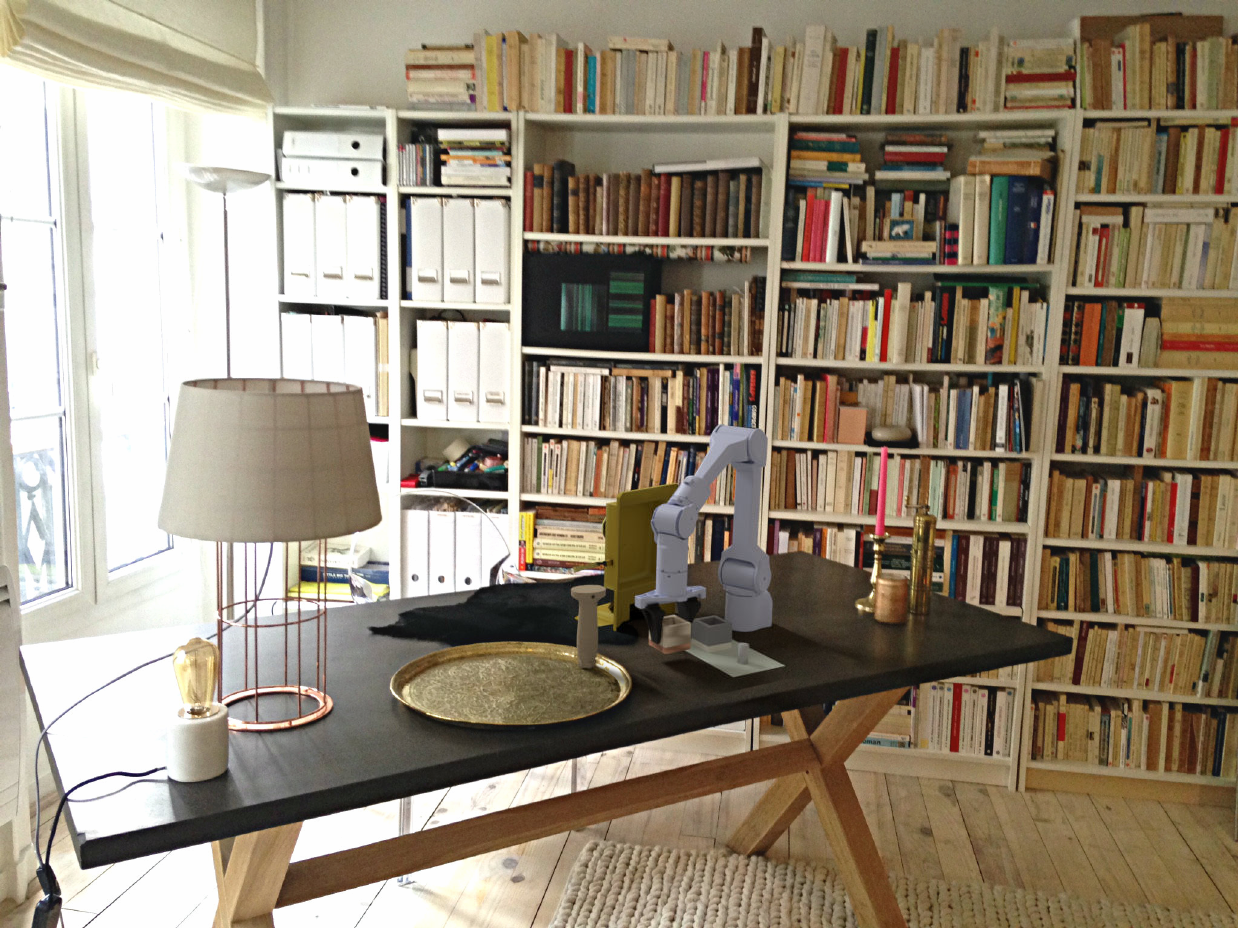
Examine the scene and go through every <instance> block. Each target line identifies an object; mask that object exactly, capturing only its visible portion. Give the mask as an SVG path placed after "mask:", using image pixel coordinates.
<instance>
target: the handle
mask: <svg viewBox="0 0 1238 928" xmlns="http://www.w3.org/2000/svg"><path fill="white" fill-rule="evenodd" d="M606 590H607V588H605V587H604V585H603V586H602V585H599V584H584V585H576V586H573V587H572V588H571V589H570V595H571V597H572V598H573V599H575V600H576V601H578V615H579V617H578V621H577V630H576V631H577V633H576V651H577V652H576V653H577V658H578V659H577V664H578V666H579V667H580V668H581V669H592V668H594V667H596V664H597V655H598V649H599V626H598V621H597V606H598V602H599V601H600V600H601V599H602V598H604V597H606Z"/></svg>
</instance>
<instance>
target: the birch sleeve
mask: <svg viewBox="0 0 1238 928" xmlns="http://www.w3.org/2000/svg"><path fill="white" fill-rule="evenodd" d="M691 636H692V625H691V623H690V622H688V621H686V620H684V619H682V618H680V617H678V615H675V614H669V615H664V618H663V623H662V631H661V641H660V644H656V643H654V642H652V641H651V636H650V631H649V630H648V646H650V647H652V648H654V649H655V650H657V651H659V652H661V653H662V654H665V655H667V654H668V655H669V654H672V653H676V652H678V653H679V652H683V651H685V650H689V649H690V645H691Z"/></svg>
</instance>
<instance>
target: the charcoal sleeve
mask: <svg viewBox="0 0 1238 928" xmlns="http://www.w3.org/2000/svg"><path fill="white" fill-rule="evenodd" d="M732 624H733V623H731V622H729V621H726V620H725V618H722V617H720V616H718V615H716V614H714V615H709V616H704V617H703V616H701V617H697V618H696V617H695V618H694V620H693V623H692V625H691V644H693V645H695V646H697V647H698V648H700V649H702V650H704V651H706V652H708V653H709V652H714V651H719V650H724V649H729V648H731V645H732V639H733V630H732Z"/></svg>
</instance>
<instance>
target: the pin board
mask: <svg viewBox="0 0 1238 928" xmlns="http://www.w3.org/2000/svg"><path fill="white" fill-rule="evenodd" d="M684 651H685V652H687V653H689V654H691V655H692V656H694V657H696V658H698V659H699V660H701V661H704V662H705V663H707V664H709V665H711V666H712V667H714V668H716V669H718V670H720V672H723V673H725V674H727V675H729V676H730V677H732V678H736V677H740V676H745V675H750V674H755V673H758V672H764V671H769V670H772V669H776V668H777V669H778V668H782V667H786V665H785V664H782V663H780V662H778V661H777V660H775V659H772V658H770V657H768V656H766V655H764V654H762V653H760V652H758V651H757V650H754V649H753V648H750V644H749V643H747V642H739V641H736V640H735V639H733V638H732V645H731V648H729V649H724V650H719V651H714V652H709V653H708V652H706V651H704V650H702V649H700V648H698V647H697V646H695V645H693V644H691V645H690V649H689V650H684Z"/></svg>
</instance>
